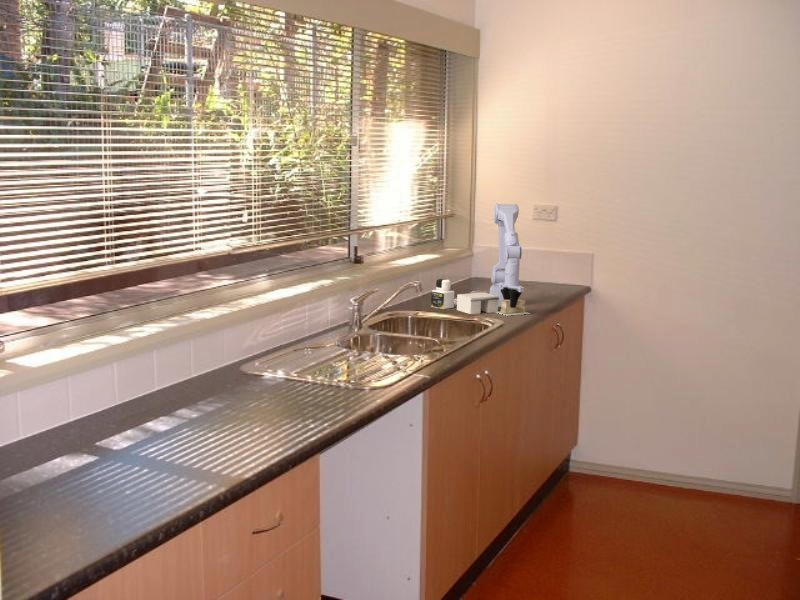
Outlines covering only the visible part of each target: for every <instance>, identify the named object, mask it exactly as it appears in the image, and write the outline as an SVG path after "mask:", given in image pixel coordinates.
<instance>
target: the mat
mask: <svg viewBox="0 0 800 600" xmlns="http://www.w3.org/2000/svg"><path fill="white" fill-rule="evenodd" d="M494 313H495V314H498V313H499V315H502V314H503V315H502V316H505V315H506V316H507V317H512V316H511V315H514V316H524V314H526V315H531V312H527V311H525V312H523V313H503V312H501V310H500V311H499V310H498V312H494ZM506 316H505V317H506Z"/></svg>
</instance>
